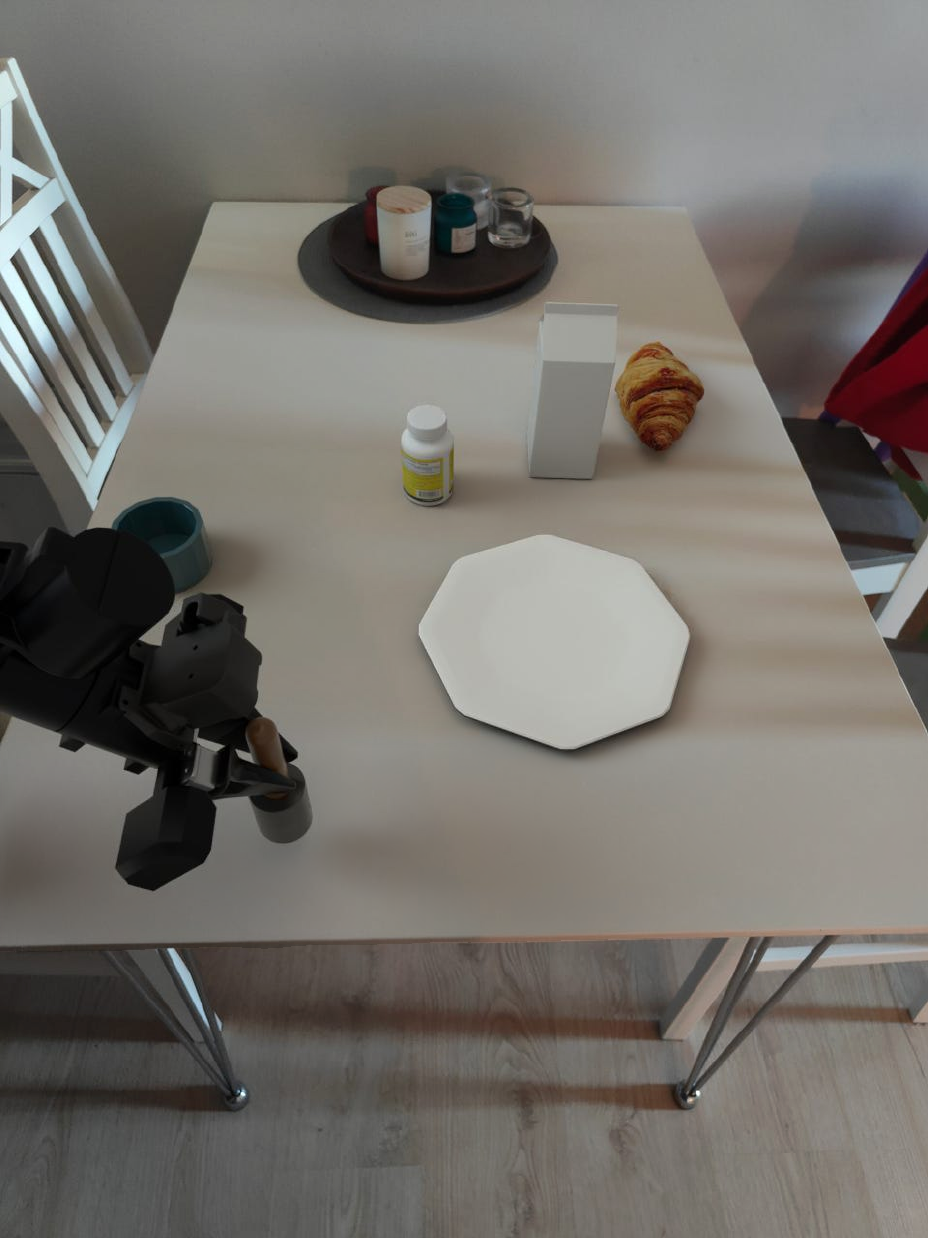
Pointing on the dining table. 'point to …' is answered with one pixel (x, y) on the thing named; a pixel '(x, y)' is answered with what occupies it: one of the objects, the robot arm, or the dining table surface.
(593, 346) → the milk carton
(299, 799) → the coffee tamper
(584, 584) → the plate
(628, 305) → the dining table surface
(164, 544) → the teal faceted cup
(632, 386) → the croissant
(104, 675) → the robot arm
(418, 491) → the supplement bottle
